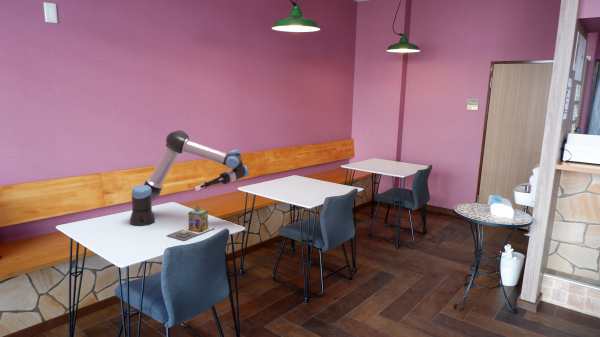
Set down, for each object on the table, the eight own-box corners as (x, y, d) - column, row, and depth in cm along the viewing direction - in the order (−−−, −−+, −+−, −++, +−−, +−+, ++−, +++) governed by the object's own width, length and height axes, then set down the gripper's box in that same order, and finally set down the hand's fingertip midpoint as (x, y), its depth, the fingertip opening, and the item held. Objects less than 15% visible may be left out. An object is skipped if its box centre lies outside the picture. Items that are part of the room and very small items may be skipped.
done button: (178, 234, 231) (178, 231, 231) (183, 232, 235) (183, 229, 234) (183, 236, 229) (183, 232, 229) (188, 234, 233) (188, 230, 232)
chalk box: (202, 232, 239) (202, 208, 237) (188, 230, 241) (187, 207, 238) (208, 227, 248) (208, 205, 246) (195, 226, 250) (194, 203, 247)
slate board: (166, 236, 232) (166, 232, 232) (197, 224, 255) (197, 221, 254) (183, 241, 225) (183, 237, 225) (214, 229, 248) (214, 225, 247)
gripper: (233, 180, 253) (201, 192, 238) (225, 184, 263) (193, 196, 249) (229, 169, 253) (197, 181, 238) (221, 174, 263) (189, 185, 249)
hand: (195, 188), depth 244 cm, fingers closed
